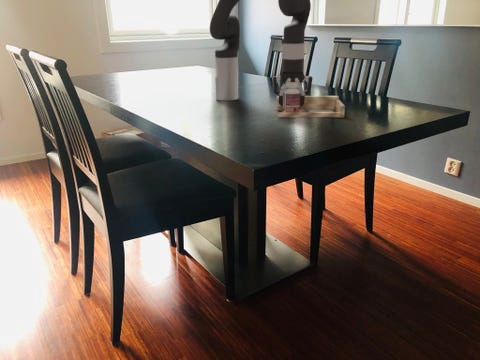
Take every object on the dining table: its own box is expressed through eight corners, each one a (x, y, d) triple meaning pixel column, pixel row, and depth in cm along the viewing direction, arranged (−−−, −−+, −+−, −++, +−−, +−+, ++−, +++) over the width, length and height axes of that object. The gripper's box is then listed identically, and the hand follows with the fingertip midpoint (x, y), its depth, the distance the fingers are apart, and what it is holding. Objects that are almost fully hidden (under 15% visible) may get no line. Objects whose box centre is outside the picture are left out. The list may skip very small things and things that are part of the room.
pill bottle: (303, 113, 140) (304, 81, 136) (290, 116, 137) (291, 83, 132) (291, 110, 145) (293, 79, 140) (278, 113, 142) (279, 81, 137)
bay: (277, 117, 135) (278, 103, 133) (276, 109, 147) (276, 96, 145) (343, 117, 134) (345, 103, 132) (336, 109, 146) (338, 95, 144)
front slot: (311, 116, 136) (311, 115, 136) (307, 110, 145) (308, 109, 144) (336, 116, 136) (336, 115, 136) (331, 110, 144) (331, 109, 144)
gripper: (272, 58, 130) (271, 108, 137) (315, 58, 129) (312, 108, 136) (271, 56, 137) (270, 104, 143) (312, 56, 136) (310, 103, 143)
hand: (291, 105), depth 140 cm, fingers open, 6 cm apart
